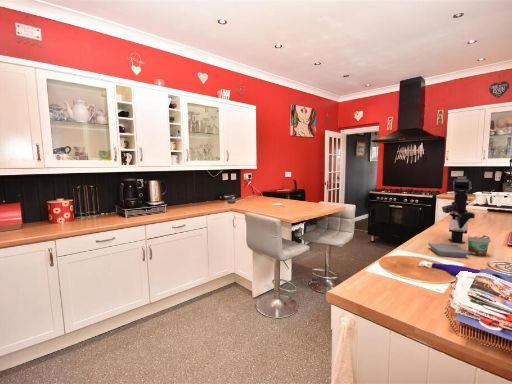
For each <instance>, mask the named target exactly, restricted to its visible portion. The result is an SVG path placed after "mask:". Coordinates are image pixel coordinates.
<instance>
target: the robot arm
mask: <svg viewBox="0 0 512 384" xmlns="http://www.w3.org/2000/svg"><path fill="white" fill-rule="evenodd" d="M452 181H453V182H452V192H453V193H454V200H453V201H452V202H451V204H448V205H444V206H441V209H442V212H443V213H445V214H448V215H449V216H451V218H455V217H457V218H458V219H459V228H463V226H464V225H465V224H466V222H467V221H468V222H469V220H470V219H475V213H473V212H471V211H468V209H467V206H469V203H468V192H471V191H472V189H473V188H472V187H473V183H472V181H470V179H468V176H466V175H457V176H456V178H455V179H453V180H452ZM448 229H449V230H448V232H451V234H450V235H451V236H450V238H448V241H450V242H452V243H454V244H457V243H459V244H465V243H466V242H465V241H464V240H463V235H465V234H468V231H469V230H468V229H469V228H468V229H467V231H463V230H452V229H450V228H449V227H448Z"/></svg>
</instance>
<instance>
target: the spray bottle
mask: <svg viewBox="0 0 512 384" xmlns="http://www.w3.org/2000/svg"><path fill="white" fill-rule="evenodd" d="M417 266H418V267H426V268H429V269H431V268H432V267H433V268H432V269H437V268H438V269H437V270H441V269H442V271H445V270H446V271H445V272H447V273H448V274H449V273H450V274H449V275H451V276H453V275H454V276H453V277H455V276H456V275H457V274H458V273H459V272H460V271H468V272H472V273H479V272H480V270H481V269H477V268H471V267H467V266H462V265H457V264H450V263H449V264H444V263H435V262H430V261H427V260H422V261H420V262H419V263H418V265H417Z"/></svg>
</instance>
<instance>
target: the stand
mask: <svg viewBox="0 0 512 384" xmlns="http://www.w3.org/2000/svg"><path fill="white" fill-rule="evenodd" d="M428 246H429V247H430V250H432V251H433V252H434V253H435V254H437V255H438V256H439V257H451V258H461V259H462V258H463V259H464V258H465V259H466V258H467V256H471V255H470V253H469V252H468V250H465V249H463V248H461V247H460V246H458V245H457V244H447V243H446V244H445V243H430V242H428Z"/></svg>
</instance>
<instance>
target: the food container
mask: <svg viewBox="0 0 512 384" xmlns="http://www.w3.org/2000/svg"><path fill="white" fill-rule="evenodd" d="M491 242H492V241H491V237H490V236H488V235H486V234H483V235H482V236H468V237H467V243H468V245H467V246H468V247H467V248H468V249H467V252H469V253H470V255H469V256H475V257H487V254H488V249H489V245H490V243H491Z"/></svg>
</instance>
